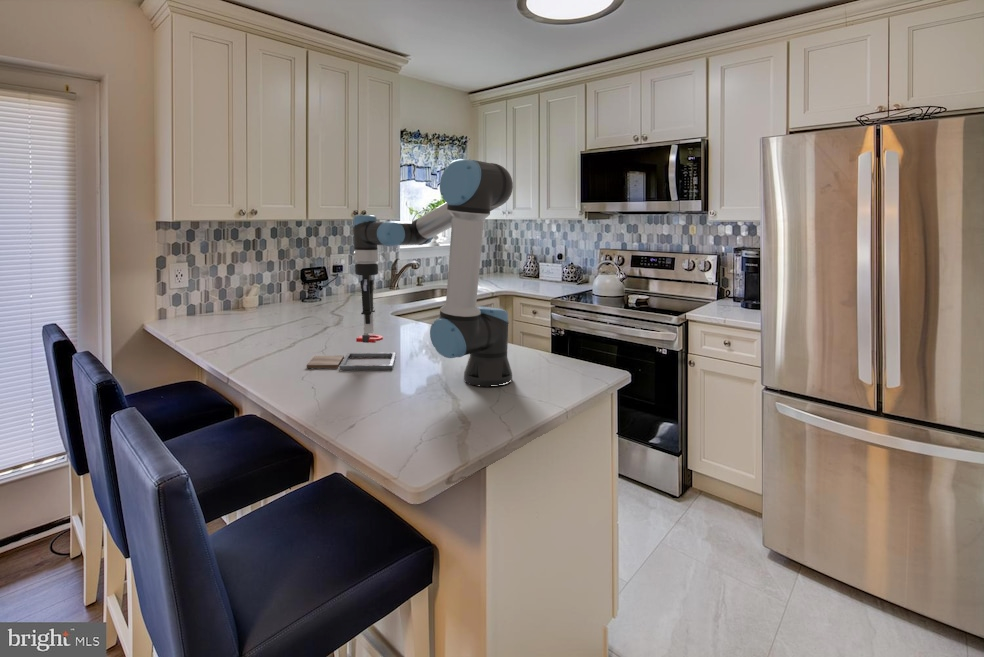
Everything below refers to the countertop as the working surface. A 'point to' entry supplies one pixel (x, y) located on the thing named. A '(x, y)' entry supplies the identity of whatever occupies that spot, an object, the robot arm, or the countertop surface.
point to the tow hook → (366, 338)
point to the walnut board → (325, 362)
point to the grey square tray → (368, 367)
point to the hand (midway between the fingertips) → (368, 332)
